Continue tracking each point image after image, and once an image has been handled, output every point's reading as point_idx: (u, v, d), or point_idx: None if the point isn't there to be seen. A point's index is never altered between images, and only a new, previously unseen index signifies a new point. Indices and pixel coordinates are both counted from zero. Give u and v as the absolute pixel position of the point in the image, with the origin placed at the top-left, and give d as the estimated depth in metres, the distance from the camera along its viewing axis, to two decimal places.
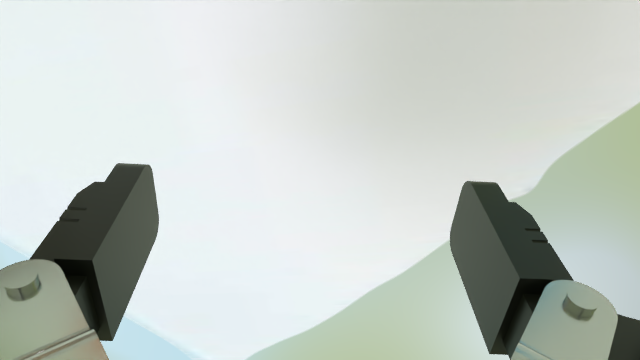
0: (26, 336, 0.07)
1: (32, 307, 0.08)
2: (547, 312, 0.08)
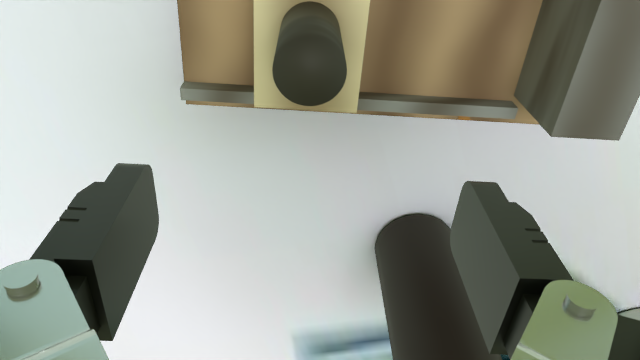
0: (26, 336, 0.07)
1: (33, 307, 0.07)
2: (547, 312, 0.08)
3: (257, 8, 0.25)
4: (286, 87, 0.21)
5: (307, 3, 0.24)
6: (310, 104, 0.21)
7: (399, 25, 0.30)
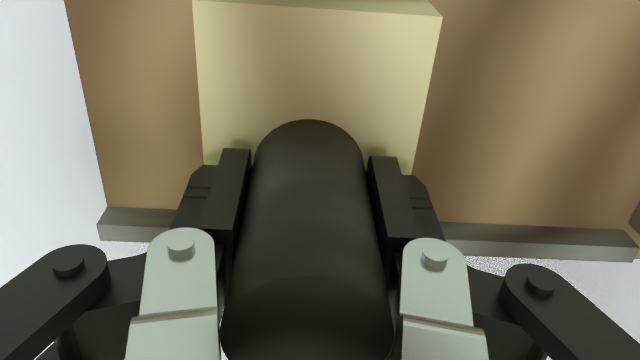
0: (201, 290, 0.08)
1: (181, 270, 0.08)
2: (401, 264, 0.09)
3: (208, 131, 0.13)
4: None
5: (303, 127, 0.13)
6: None
7: (455, 125, 0.18)
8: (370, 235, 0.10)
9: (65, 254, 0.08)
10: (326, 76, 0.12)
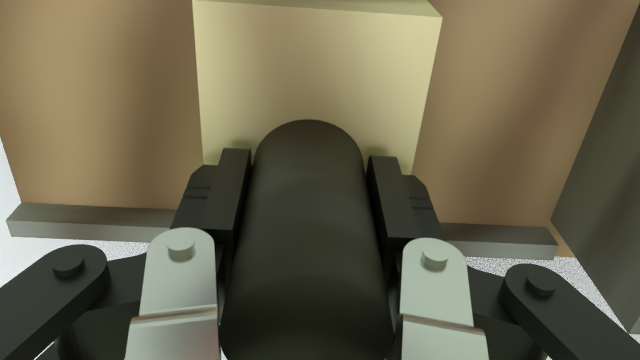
0: (201, 291, 0.08)
1: (181, 270, 0.08)
2: (401, 263, 0.09)
3: (208, 131, 0.13)
4: None
5: (303, 127, 0.13)
6: None
7: None
8: (369, 235, 0.10)
9: (65, 254, 0.08)
10: (326, 77, 0.12)
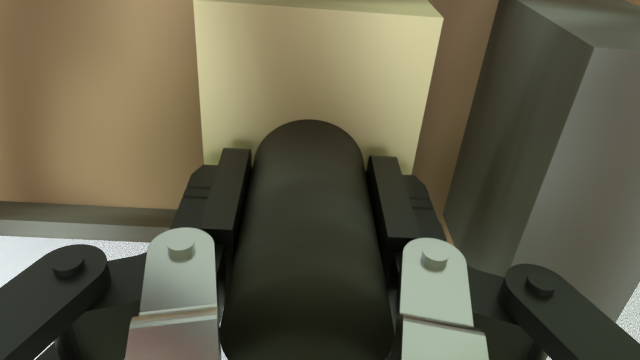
0: (201, 291, 0.08)
1: (181, 270, 0.08)
2: (401, 263, 0.09)
3: (209, 130, 0.13)
4: None
5: (303, 127, 0.13)
6: None
7: None
8: (370, 235, 0.10)
9: (65, 254, 0.08)
10: (327, 77, 0.12)
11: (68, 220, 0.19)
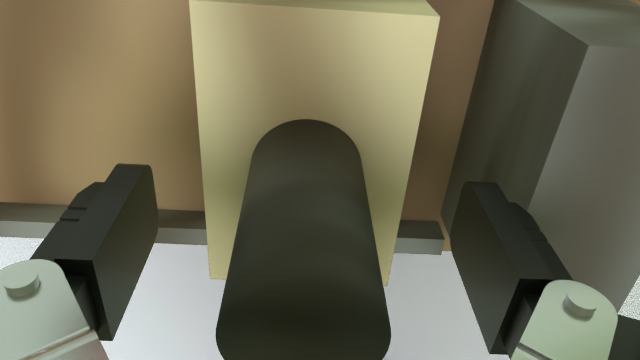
0: (26, 336, 0.07)
1: (33, 307, 0.07)
2: (547, 312, 0.08)
3: (206, 131, 0.13)
4: None
5: (300, 127, 0.13)
6: None
7: None
8: (367, 235, 0.10)
9: None
10: (324, 76, 0.12)
11: None
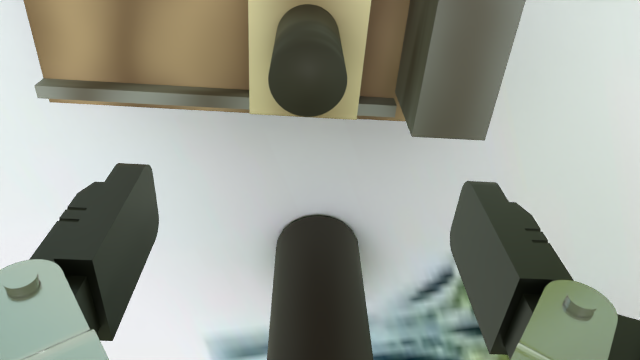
0: (26, 336, 0.07)
1: (32, 307, 0.07)
2: (547, 312, 0.08)
3: (252, 11, 0.24)
4: (283, 97, 0.20)
5: (305, 6, 0.23)
6: (308, 115, 0.20)
7: None
8: (338, 43, 0.20)
9: None
10: None
11: (152, 91, 0.29)
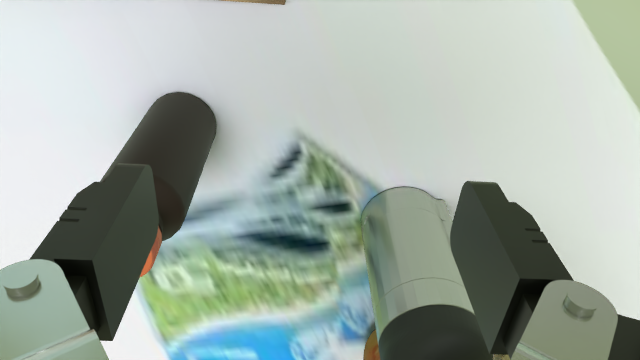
0: (26, 336, 0.07)
1: (33, 307, 0.08)
2: (547, 312, 0.08)
3: None
4: None
5: None
6: None
7: None
8: None
9: None
10: None
11: None
